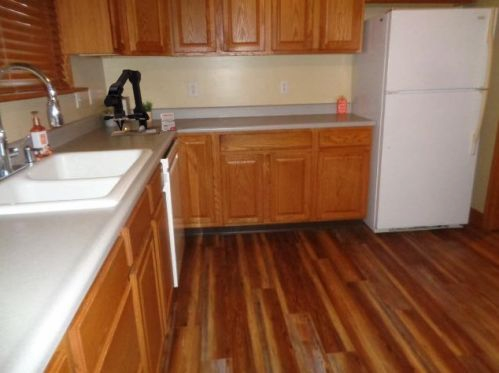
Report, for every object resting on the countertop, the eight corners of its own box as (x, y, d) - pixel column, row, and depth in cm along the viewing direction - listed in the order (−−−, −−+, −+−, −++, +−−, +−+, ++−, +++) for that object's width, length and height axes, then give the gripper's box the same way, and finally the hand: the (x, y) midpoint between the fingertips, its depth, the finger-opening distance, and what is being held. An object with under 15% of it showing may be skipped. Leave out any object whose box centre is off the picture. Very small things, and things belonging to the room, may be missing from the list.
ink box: (174, 129, 260) (172, 112, 257) (175, 130, 256) (174, 112, 252) (161, 130, 257) (160, 113, 254) (163, 131, 252) (161, 113, 249)
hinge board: (113, 134, 247) (112, 126, 245) (158, 131, 253) (157, 124, 252) (111, 137, 235) (110, 129, 234) (158, 134, 242) (157, 126, 240)
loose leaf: (114, 132, 245) (113, 127, 244) (131, 131, 247) (130, 126, 246) (112, 134, 237) (112, 128, 236) (130, 133, 239) (129, 127, 238)
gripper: (100, 107, 228) (104, 133, 232) (132, 106, 232) (135, 131, 236) (103, 106, 238) (106, 131, 243) (133, 104, 242) (136, 129, 247)
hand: (121, 130), depth 242 cm, fingers closed
